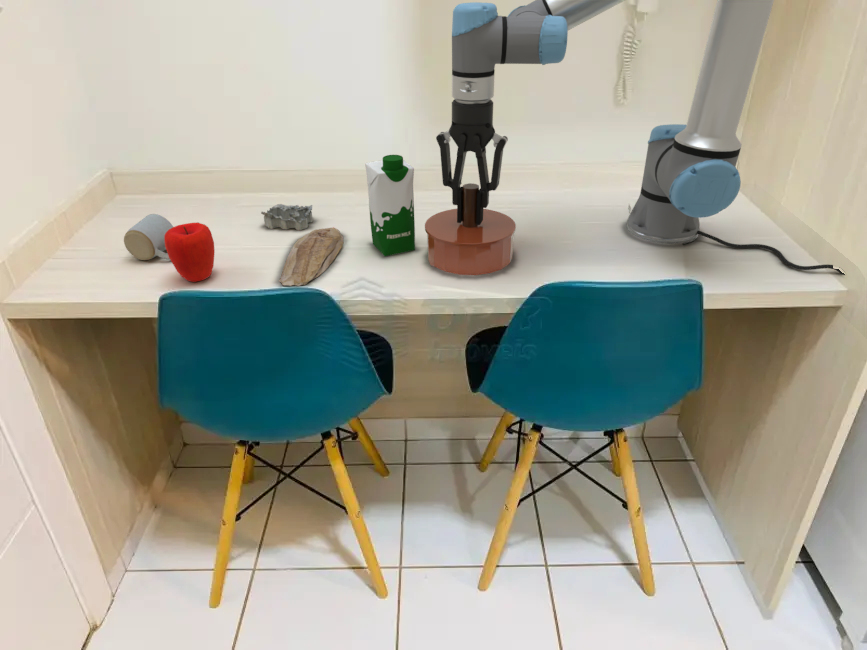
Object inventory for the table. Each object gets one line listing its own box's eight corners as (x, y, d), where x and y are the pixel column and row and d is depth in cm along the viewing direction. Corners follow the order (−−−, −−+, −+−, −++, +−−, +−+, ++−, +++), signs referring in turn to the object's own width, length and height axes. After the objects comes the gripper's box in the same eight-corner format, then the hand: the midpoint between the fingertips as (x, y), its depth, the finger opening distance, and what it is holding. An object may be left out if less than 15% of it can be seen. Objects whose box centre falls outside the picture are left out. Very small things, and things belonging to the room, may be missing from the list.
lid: (522, 217, 132) (525, 174, 127) (506, 254, 117) (508, 207, 112) (439, 209, 136) (438, 168, 131) (413, 243, 122) (411, 198, 117)
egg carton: (261, 229, 145) (258, 212, 142) (274, 216, 151) (271, 200, 149) (305, 231, 143) (302, 214, 140) (316, 219, 149) (314, 202, 147)
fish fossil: (326, 286, 120) (325, 280, 120) (274, 289, 121) (273, 284, 120) (345, 229, 142) (344, 224, 141) (300, 233, 143) (299, 228, 142)
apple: (199, 263, 130) (188, 214, 124) (230, 272, 126) (219, 222, 120) (164, 281, 123) (150, 229, 117) (195, 291, 119) (182, 239, 114)
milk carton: (382, 259, 130) (376, 164, 119) (367, 243, 137) (359, 151, 126) (420, 251, 133) (418, 157, 122) (404, 235, 140) (400, 145, 129)
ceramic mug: (125, 260, 131) (116, 226, 127) (149, 244, 138) (141, 211, 134) (171, 266, 129) (162, 231, 125) (193, 249, 136) (185, 216, 132)
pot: (518, 245, 135) (520, 215, 131) (502, 282, 121) (504, 250, 117) (441, 236, 139) (441, 207, 136) (417, 271, 125) (416, 240, 121)
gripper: (423, 101, 112) (425, 224, 125) (513, 106, 108) (506, 232, 121) (435, 92, 118) (436, 210, 131) (521, 97, 114) (513, 218, 127)
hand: (470, 220), depth 126 cm, fingers closed on lid, 3 cm apart
